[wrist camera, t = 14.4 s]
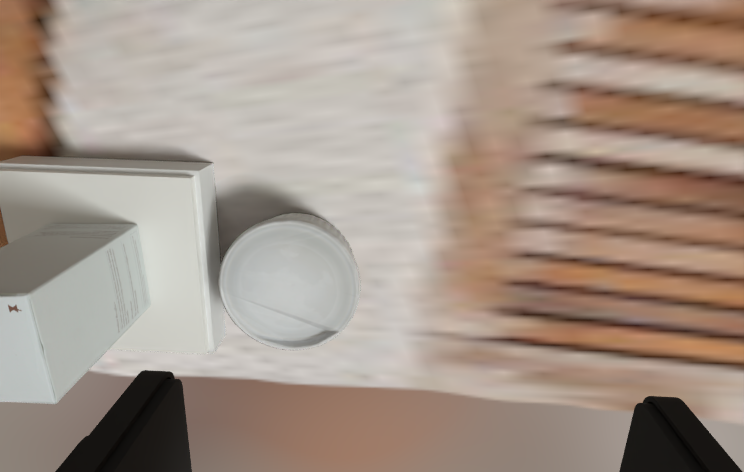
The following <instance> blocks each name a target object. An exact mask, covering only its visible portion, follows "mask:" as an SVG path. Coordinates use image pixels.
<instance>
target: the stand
mask: <svg viewBox="0 0 744 472" xmlns="http://www.w3.org/2000/svg"><path fill="white" fill-rule="evenodd" d="M0 208H1V213H2V217H3V222H4V227H5V231H6V236H7V240H8V244H9V243H11V242H13V241H15V240H17V239H19V238H21V237H23V236H25V235H27V234H29V233H31V232H34V231H36V230H38V229H40V228H41V227H43V226H45V225H47V224H137V225H138V230H139V236H140V242H141V247H142V253H143V259H144V265H145V271H146V277H147V283H148V288H149V295H150V301H151V306H150V307H149V308H148V309H147V310H146V311H145V312H144V313H143V314H142V315H141V316H140V317H139V318H138V319H137V320H136V321H135V322H134V324H133V325H132V326H131V327H130V328H129V329H128V330H127V331H126V332H125V333H124V334H123V335H122V336H121V337H120V338H119V339H118V340H117V341H116V342H115V343H114V344H113V345H112V346H111V347H110V348H109V349H108V350H126V351H146V352H166V353H186V354H207V353H210V354H214V353H215V352H216V350H217V349H218V347H219V345H220V344H221V342H222V340H223V339H224V337H225V335H226V329H225V315H224V305H223V302H222V300H221V296H220V292H219V285H218V280H219V272H220V268H221V260H220V247H219V233H218V219H217V206H216V192H215V178H214V165H213V163H204V162H178V161H152V160H126V159H99V158H73V157H47V156H19V157H15V158H11V159H7V160H3V161H0Z"/></svg>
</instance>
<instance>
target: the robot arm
mask: <svg viewBox="0 0 744 472" xmlns="http://www.w3.org/2000/svg"><path fill="white" fill-rule="evenodd" d="M56 472H192V469H191V460H190V452H189V442H188V432H187V424H186V414H185V405H184V396H183V386H182V382H181V381H180V380H179V379H175V378H174V375H173V373H171V372H166V371H147V370H145V371H142V372H141V373H139V374H138V376H137V377H136V378H135V379H134V381H133V382H132V383H131V384H130V386H129V387H128V388H127V389H126V390H125V392H124V393H123V394H122V395H121V397H120V398H119V399H118V400H117V401H116V403H115V404H114V405H113V406H112V408H111V409H110V410H109V411H108V413H107V414H106V415H105V416H104V418H103V419H102V420H101V421H100V422H99V424H98V425H97V426H96V427H95V429H94V430H93V431H92V432H91V434H90V435H89V436H86V437H85V438H84V439H83V440H82V441H81V442H80V443H79V444H78V445H77V446H76V447H75V449H74V450H73V451H72V453H70V455H69V456H68V457H67V458H66V460H65V461H64V462H63V463H62V464H61V466H60V467H59V468H58V469H57V470H56ZM620 472H742V471H741V470H740V468H739V467H738V466H737V465H736V464H735V462H734V461H733V460H732V459H731V458H730V456H728V454H727V453H726V452H725V451H724V449H723V448H722V447H721V446H720V445H719V443H718V442H717V441H716V440H715V439H714V437H713V436H712V435H711V434H710V433H709V431H708V430H707V429H706V428H705V427H704V426H703V424H702V423H701V422H700V421H699V420H698V418H697V417H696V416H695V415H694V414H693V412H692V411H691V410H690V409H689V408H688V407H687V405H686V404H685V403H684V402H683V401H682V400H681V399H679V398H676V397H657V396H648V397H646V398H645V399H644V401H643V403H638V404H637V405H636V406H635V409H634V413H633V417H632V422H631V426H630V430H629V434H628V438H627V443H626V447H625V451H624V455H623V459H622V464H621V468H620Z"/></svg>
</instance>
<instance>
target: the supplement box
mask: <svg viewBox="0 0 744 472" xmlns="http://www.w3.org/2000/svg"><path fill="white" fill-rule="evenodd" d="M150 306H151V301H150V295H149V288H148V283H147V277H146V271H145V265H144V259H143V253H142V247H141V242H140V236H139V230H138V225H137V224H47V225H45V226H43V227H41V228H40V229H38V230H36V231H34V232H31V233H29V234H27V235H25V236H23V237H21V238H19V239H17V240H15V241H13V242H11V243H9V244H7V245H5V246H3V247H1V248H0V402H23V403H47V404H56V403H58V401H59V400H60V399H61V398H62V397H63V396H64V395H65V394H66V392H68V391H69V390H70V389H71V388H72V386H73V385H74V384H75V383H76V382H77V381H78V380H79V379H80V378H81V377H82V376H83V375H84V374H85V373H86V372H87V371H88V370H89V369H90V368H91V367H92V366H93V365H94V364H95V363H96V362H97V361H98V360H99V359H100V358H101V357H102V356H103V355H104V353H105V352H106V351H107V350H108V349H109V348H110V347H111V346H112V345H113V344H114V343H115V342H116V341H117V340H118V339H119V338H120V337H121V336H122V335H123V334H124V333H125V332H126V331H127V330H128V329H129V328H130V327H131V326H132V325H133V324H134V322H135V321H136V320H137V319H138V318H139V317H140V316H141V315H142V314H143V313H144V312H145V311H146V310H147V309H148V308H149V307H150Z"/></svg>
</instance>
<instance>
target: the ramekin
mask: <svg viewBox="0 0 744 472" xmlns="http://www.w3.org/2000/svg"><path fill="white" fill-rule="evenodd" d="M218 285H219V292H220V296H221V300H222V302H223V305H224V307H225V309H226V311H227V313H228V315H229V316H230V318H231V319H232V321H233V322H234V323H235V324H236V325H237V326H238V327H239V328H240V329H241V330H242V331H243V332H244V333H246V334H247V335H248V336H250V337H251V338H253V339H254V340H256V341H258V342H260V343H262V344H265V345H267V346H270V347H273V348H278V349H282V350H304V349H310V348H314V347H318V346H320V345H323V344H325V343H327V342H329V341H331V340H332V339H334V338H335V337H336V336H338V335H339V334H340V333H341V332H342V331H343V330H344V329H345V328H346V327H347V325H348V324H349V323H350V321H351V320H352V318H353V316H354V314H355V312H356V309H357V306H358V303H359V298H360V291H361V281H360V274H359V269H358V266H357V263H356V261H355V258H354V255H353V253H352V249H351V247H350V245H349V243H348V242H347V240H346V239H345V237H344V236H343V235H342V234H341V233H340V231H339V230H337V229H336V228H335V227H334V226H333V225H331V224H329V223H328V222H327V221H324V220H322V219H321V218H318V217H315V216H313V215H309V214H301V213H290V214H283V215H280V216H276V217H274V218H271V219H269V220H266V221H263V222H260V223H258V224H256V225H254V226H252V227H250V228H249V229H247V230H246V231H244V232H243V233H242V234H241V235H240V236H239V237H238V238H237V239H236V240H235V241H234V242H233V243H232V245H231V246H230V247H229V249H228V250H227V252H226V254H225V256H224V258H223V261H222V264H221V268H220V272H219V280H218Z"/></svg>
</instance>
